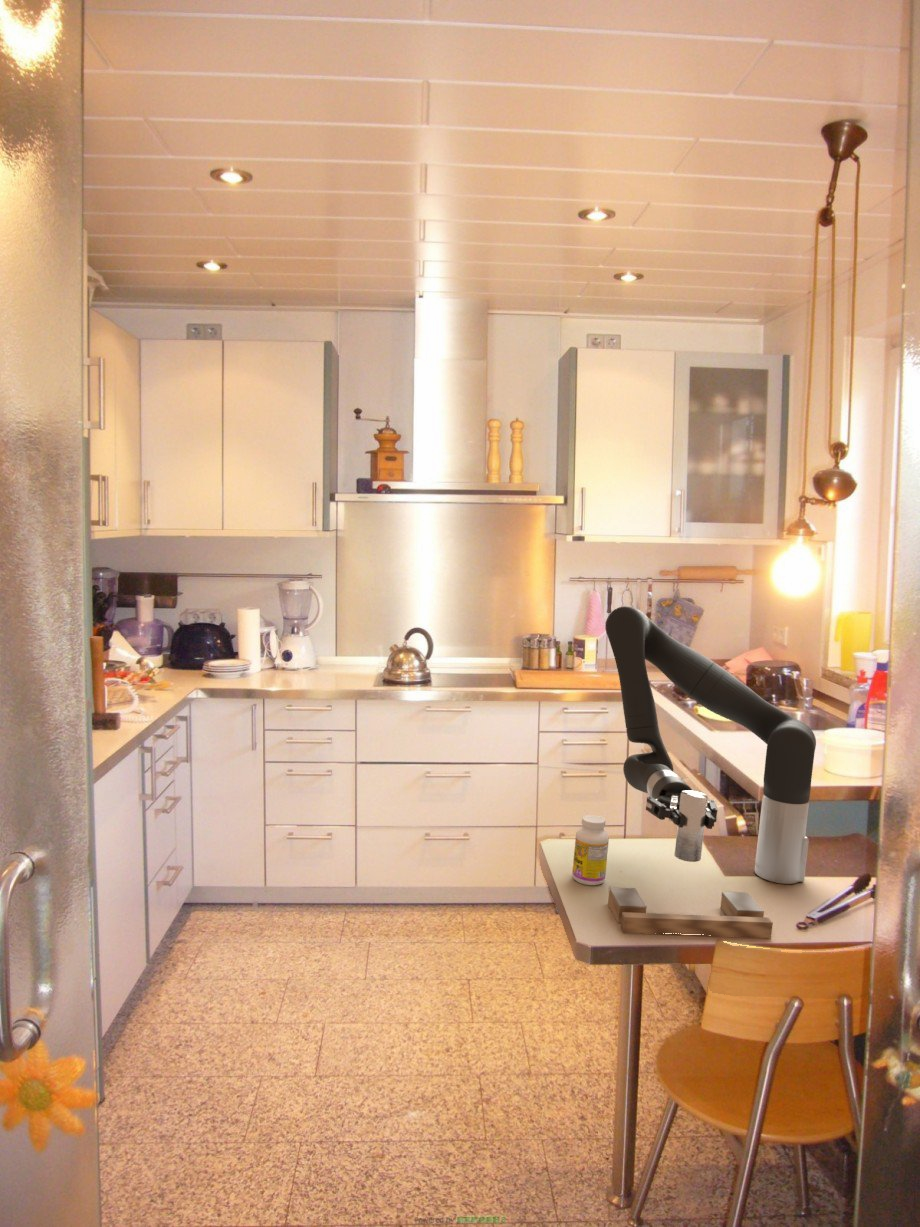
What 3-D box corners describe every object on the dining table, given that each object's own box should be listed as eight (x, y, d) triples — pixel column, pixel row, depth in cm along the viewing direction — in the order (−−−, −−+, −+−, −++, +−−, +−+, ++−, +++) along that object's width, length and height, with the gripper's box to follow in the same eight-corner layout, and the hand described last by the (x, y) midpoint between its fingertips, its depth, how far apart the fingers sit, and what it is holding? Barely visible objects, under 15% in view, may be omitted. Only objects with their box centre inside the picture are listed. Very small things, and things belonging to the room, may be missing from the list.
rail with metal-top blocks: (745, 908, 173) (747, 892, 173) (770, 938, 161) (772, 920, 161) (608, 903, 171) (609, 887, 171) (623, 933, 159) (625, 915, 159)
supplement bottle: (569, 872, 185) (574, 812, 184) (600, 873, 186) (605, 813, 184) (575, 886, 179) (581, 823, 177) (608, 887, 179) (614, 825, 178)
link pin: (696, 852, 170) (702, 791, 168) (704, 862, 165) (711, 799, 164) (671, 851, 170) (677, 789, 168) (678, 861, 165) (685, 798, 163)
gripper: (636, 773, 180) (659, 801, 163) (706, 776, 181) (737, 805, 164) (633, 809, 181) (656, 841, 164) (702, 812, 182) (732, 844, 165)
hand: (696, 822), depth 164 cm, fingers closed on link pin, 4 cm apart
